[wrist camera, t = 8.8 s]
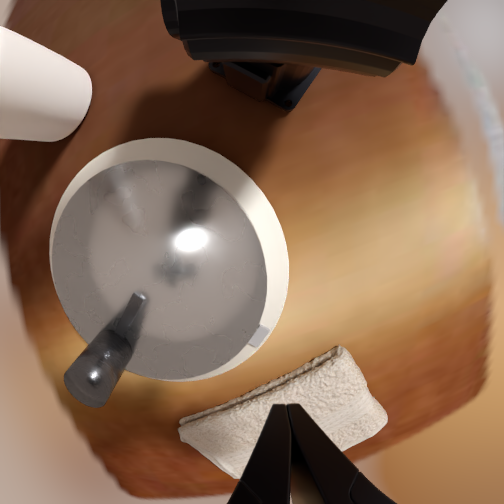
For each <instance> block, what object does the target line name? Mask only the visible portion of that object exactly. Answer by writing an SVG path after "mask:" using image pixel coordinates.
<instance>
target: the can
mask: <svg viewBox="0 0 504 504" xmlns="http://www.w3.org/2000/svg"><path fill="white" fill-rule="evenodd" d="M91 96H92V84H91V79H90V77H89V75H88V73H87V72H86V71H85V70H84V69H83V68H81V67H80V66H78V65H77V64H75V63H73V62H71V61H70V60H68V59H66V58H64V57H62V56H61V55H59V54H57V53H55V52H53V51H51V50H49V49H47V48H46V47H44V46H42V45H40V44H38V43H36V42H34V41H32V40H30V39H28V38H26V37H24V36H22V35H20V34H17V33H15V32H13V31H11V30H9V29H6V28H4V27H1V26H0V138H2V139H18V140H31V141H44V142H54V141H58V140H61V139H63V138H65V137H67V136H68V135H70V134H71V133H72V132H73V131H74V130H75V129H76V128H77V127H78V126H79V124H80V123H81V121H82V120H83V118H84V116H85V115H86V112H87V110H88V108H89V105H90V101H91Z"/></svg>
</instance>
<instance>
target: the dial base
mask: <svg viewBox="0 0 504 504" xmlns="http://www.w3.org/2000/svg"><path fill="white" fill-rule="evenodd" d="M138 160H157V161H165V162H171V163H176V164H180V165H184V166H187V167H189V168H192V169H195V170H197V171H199V172H201V173H203V174H205V175H207V176H209V177H210V178H212V179H213V180H215V181H216V182H217V183H219V184H220V185H221V186H223V187H224V188H225V189H226V190H227V191H228V192H229V193H230V194H231V195H232V196H233V197H235V198H236V200H237V201H238V202H239V204H240V205H241V206H242V207H243V209H244V210H245V211H246V213H247V214H248V216H249V218H250V220H251V221H252V223H253V225H254V227H255V229H256V232H257V234H258V236H259V239H260V242H261V246H262V249H263V253H264V258H265V264H266V272H267V295H266V302H265V308H264V311H263V314H262V317H261V320H260V323H259V325H258V327H257V329H256V331H255V333H254V335H253V336H252V338H251V339H250V340H249V342H248V343H247V345H246V346H245V347H244V348H243V349H242V350H241V351H240V352H239V353H238V354H237V355H236V356H235V357H234V358H233V359H231V360H230V361H229V362H228V363H226V364H224V365H223V366H221V367H219V368H218V369H216V370H213V371H211V372H209V373H206V374H203V375H200V376H196V377H193V378H186V379H173V380H167V379H157V380H163V381H176V382H184V381H196V380H201V379H206V378H210V377H213V376H216V375H219V374H222V373H224V372H226V371H228V370H231V369H233V368H235V367H236V366H238V365H239V364H241V363H242V362H244V361H245V360H247V359H248V358H249V357H250V356H251V355H253V354H254V353H255V352H256V351H257V350H258V349H259V348H260V347H261V346H262V344H263V343H264V342H265V341H266V340H267V338H268V337H269V335H270V334H271V332H272V331H273V329H274V328H275V326H276V324H277V322H278V319H279V317H280V315H281V313H282V310H283V307H284V303H285V300H286V296H287V289H288V282H289V260H288V253H287V246H286V242H285V238H284V235H283V231H282V228H281V225H280V223H279V221H278V219H277V216H276V214H275V212H274V210H273V208H272V206H271V205H270V203H269V202H268V200H267V198H266V197H265V195H264V194H263V192H262V191H261V190H260V189H259V188H258V186H257V185H256V184H255V183H254V182H253V180H252V179H251V178H250V177H249V176H248V175H247V174H245V173H244V172H243V171H242V170H241V169H240V168H239V167H238V166H237V165H235V164H234V163H232V162H231V161H229V160H228V159H226V158H225V157H223V156H222V155H220V154H218V153H216V152H214V151H212V150H210V149H208V148H206V147H204V146H201V145H198V144H194V143H191V142H188V141H184V140H177V139H171V138H147V139H140V140H134V141H130V142H127V143H124V144H121V145H118V146H116V147H114V148H112V149H109V150H107V151H105V152H103V153H102V154H100V155H99V156H98V157H96V158H95V159H93V160H92V161H90V162H89V163H88V164H87V165H86V166H85V167H84V168H83V169H82V170H81V171H80V172H79V173H78V174H77V175H76V176H75V178H74V179H73V180H72V181H71V183H70V184H69V186H68V187H67V189H66V191H65V192H64V194H63V196H62V198H61V200H60V202H59V205H58V207H57V209H56V212H55V216H54V219H53V223H52V228H51V235H50V250H49V256H50V266H51V273H52V277H53V270H52V246H53V240H54V234H55V231H56V227H57V224H58V221H59V219H60V216H61V214H62V212H63V210H64V208H65V206H66V205H67V203H68V202H69V200H70V199H71V197H72V196H73V195H74V194H75V192H76V191H77V190H78V189H79V188H80V187H81V186H82V185H83V184H84V183H85V182H87V181H88V180H89V179H90V178H92V177H93V176H95V175H96V174H98V173H99V172H101V171H103V170H105V169H107V168H110V167H112V166H114V165H118V164H121V163H125V162H129V161H138ZM53 282H54V277H53ZM54 286H55V282H54ZM55 289H56V287H55ZM56 292H57V290H56ZM138 375H139V374H138ZM141 376H142V375H141ZM145 377H146V376H145ZM148 378H151V377H148ZM152 379H156V378H152Z"/></svg>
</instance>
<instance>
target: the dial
mask: <svg viewBox="0 0 504 504" xmlns="http://www.w3.org/2000/svg"><path fill="white" fill-rule="evenodd" d="M52 270H53V277H54V282H55V287H56V290H57V294H58V297H59V300H60V302H61V304H62V307H63V309H64V311H65V313H66V315H67V317H68V318H69V320H70V322H71V323H72V325H73V326H74V328H75V329H76V330H77V332H78V333H79V334H80V335H81V337H82V338H83V339H84V340H85V341H86V342H87V343H88V344H89V345H88V346H87V347H86V348H85V350H84V351H83V352H82V353H81V354H80V356H79V357H78V358H77V359H76V360H75V362H74V363H73V364H72V365H71V366H70V368H69V369H68V370H67V371H66V373H65V374H64V382H65V385H66V387H67V389H68V390H69V392H70V393H71V394H72V395H73V396H74V397H75V398H76V399H77V400H78V401H80V402H81V403H83V404H85V405H87V406H90V407H95V408H98V407H102V406H104V405H105V403H106V401H107V400H108V398H109V396H110V394H111V393H112V391H113V389H114V387H115V386H116V384H117V382H118V380H119V379H120V377H121V375H122V373H123V372H124V370H128V371H130V372H133V373H136V374H139V375H142V376H146V377H151V378H156V379H167V380H173V379H186V378H193V377H196V376H200V375H203V374H206V373H209V372H211V371H213V370H216V369H218V368H219V367H221V366H223V365H224V364H226V363H228V362H229V361H230V360H231V359H233V358H234V357H235V356H236V355H237V354H238V353H239V352H240V351H241V350H242V349H243V348H244V347H245V346H246V345H247V343H248V342H249V340H250V339H251V338H252V336H253V335H254V333H255V331H256V329H257V327H258V325H259V323H260V320H261V317H262V314H263V311H264V308H265V302H266V295H267V272H266V264H265V258H264V253H263V249H262V246H261V242H260V239H259V236H258V234H257V232H256V229H255V227H254V225H253V223H252V221H251V220H250V218H249V216H248V214H247V213H246V211H245V210H244V209H243V207H242V206H241V205H240V204H239V202H238V201H237V200H236V198H235V197H233V196H232V195H231V194H230V193H229V192H228V191H227V190H226V189H225V188H224V187H223V186H221V185H220V184H219V183H217V182H216V181H215V180H213V179H212V178H210V177H209V176H207V175H205V174H203V173H201V172H199V171H197V170H195V169H192V168H189V167H187V166H184V165H180V164H176V163H171V162H165V161H157V160H138V161H129V162H125V163H121V164H118V165H114V166H112V167H110V168H107V169H105V170H103V171H101V172H99V173H98V174H96V175H95V176H93V177H92V178H90V179H89V180H88V181H87V182H85V183H84V184H83V185H82V186H81V187H80V188H79V189H78V190H77V191H76V192H75V194H74V195H73V196H72V197H71V199H70V200H69V202H68V203H67V205H66V206H65V208H64V210H63V212H62V214H61V216H60V219H59V221H58V224H57V227H56V231H55V234H54V240H53V246H52Z"/></svg>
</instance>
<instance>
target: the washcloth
mask: <svg viewBox="0 0 504 504" xmlns="http://www.w3.org/2000/svg"><path fill="white" fill-rule="evenodd" d="M288 403H299V404H300V405H301V406H302V407H303V408H304V409H305V411H306V412H307V413H308V414H309V415H310V416H311V418H312V419H313V420H314V421H315V422H316V423H317V424H318V426H319V427H320V428H321V429H322V430H323V431H324V432H325V434H326V435H327V436H328V437H329V438H330V439H331V440H332V441H333V442H334V444H335V445H336V446H337V447H338V448H339V449H340V450H341V451H344V450H346V449H348V448H350V447H352V446H354V445H355V444H358V443H360V442H362V441H364V440H366V439H368V438H370V437H372V436H374V435H375V434H376V433H377V432H378V431H380V430H381V429H382V428H383V427H384V426H385V424H386V423H387V419H388V417H387V415H386V414H387V413H386V411H385V410H384V409H383V408H382V406H381V405H380V404H379V402H378V401H377V400H376V399H375V397H372V396H371V394H370V392H369V390H368V388H367V382H366V381H365V378H364V377H363V374H362V372H361V371H360V368H358V366H357V365H356V364H355V361H354V360H353V358H352V356H351V354H350V353H349V352H348V351H347V350H346V349H345V348H344V347H341V346H340V345H338V346H337V347H336V348H332V349H331V350H330V351H328V352H327V353H325V354H323V355H320V356H319V357H318V358H314V360H312V361H311V362H309V363H305V364H304V365H302V366H301V367H299V368H298V369H296V370H293V371H292V372H291V373H289V374H285V375H284V376H282V377H280V378H278V379H274V380H272V381H270V383H268V384H265V385H261V386H260V387H257V389H254V390H253V391H251V392H248V393H246V394H244V395H243V396H242V397H237V398H236V399H233V400H229V401H228V402H227V403H225V404H222V405H220V406H215V407H214V408H211V409H207V410H205V411H203V412H199V413H197V414H193V415H190V416H188V417H184V418H182V419H180V421H179V423H180V425H181V427H179V428H178V432H179V434H180V439H181V441H182V442H186V443H188V444H190V445H191V446H192V447H194V448H195V449H197V450H198V451H199V452H200V453H201V454H202V455H204V456H205V457H206V458H208V459H209V460H210V461H211V462H213V463H214V464H215V465H216V466H217V467H219V468H220V469H221V470H223V471H224V472H226V473H228V474H229V475H230V476H232V477H233V478H234V479H237V478H238V479H240V478H241V476H242V473H243V471H244V469H245V467H246V465H247V463H248V460H249V458H250V456H251V454H252V452H253V449H254V447H255V445H256V443H257V440H258V438H259V436H260V433H261V431H262V429H263V426H264V424H265V421H266V419H267V417H268V414H269V412H270V409H271V407H272V405H273V404H285V405H286V404H288Z"/></svg>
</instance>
